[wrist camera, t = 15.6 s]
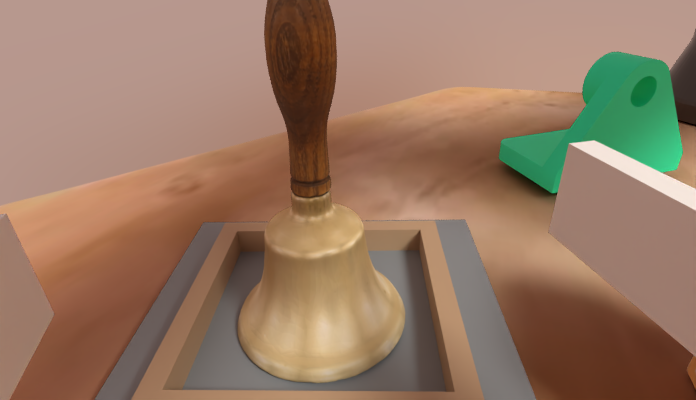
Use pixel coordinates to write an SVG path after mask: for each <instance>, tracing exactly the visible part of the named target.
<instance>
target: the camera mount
mask: <svg viewBox="0 0 696 400" xmlns="http://www.w3.org/2000/svg"><path fill="white" fill-rule="evenodd" d="M582 93H583V99H584V101H585V103H586V107H585V108H584V109H583V111H582V112H581V113H580V115H579V116H578V118H577V119H576V120H575V122H574V123H573V125H572V126H571V127H570V129H565V130H558V131H552V132H545V133H539V134H532V135H525V136H519V137H512V138H506V139H503V140H502V141H501V146H500V153H499V159H500V160H501V161H503V162H504V163H506V164H507V165H509V166H510V167H512V168H513V169H515V170H516V171H518V172H520V173H521V174H523V175H524V176H526V177H527V178H529V179H530V180H532V181H534V182H535V183H537V184H538V185H540V186H541V187H543V188H544V189H546V190H547V191H549V192H551V193H557V192H558V189H559V184H560V180H561V176H562V171H563V167H564V163H565V158H566V154H567V150H568V145H569V143H577V142H585V141H593V140H595V141H597V142H599V143H601V144H603V145H605V146H607V147H609V148H611V149H613V150H616V151H618V152H620V153H622V154H624V155H626V156H628V157H630V158H632V159H634V160H636V161H638V162H640V163H643V164H645V165H647V166H649V167H651V168H653V169H655V170H657V171H659V172H661V173H662V172H667V171H672V170H677V167H678V164H679V162H680V159H681V156H682V154H683V149H682V143H681V137H680V131H679V125H678V119H677V113H676V107H675V101H674V95H673V89H672V83H671V77H670V71H669V68H668V66H667V65H666V64H665V63H664V62H663V61H661V60H657V59H652V58H646V57H642V56H637V55H632V54H627V53H622V52H611V53H608V54H606V55H604V56H603V57H601V58H600V59H599V60H597V61H596V63H595V64H594V65H593V66H592V67H591V69H590V70H589V72H588V74H587V76H586V78H585V80H584V84H583V92H582Z"/></svg>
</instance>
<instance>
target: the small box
mask: <svg viewBox="0 0 696 400" xmlns="http://www.w3.org/2000/svg"><path fill="white" fill-rule="evenodd" d="M687 373H688V375H689V377H690V379H691V381H692V383H693V385H694V387H695V389H696V357H695V356H694V355H693V357H692V359H691V361H690V363H689V365H688V367H687Z"/></svg>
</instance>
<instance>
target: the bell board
mask: <svg viewBox="0 0 696 400" xmlns="http://www.w3.org/2000/svg"><path fill="white" fill-rule="evenodd" d="M268 223H269V222H204V223H203V224H202V226H201V227H200V229H199V231H198V232H197V234H196V236H195V237H194V239H193V240H192V242H191V244H190V245H189V247H188V249H187V250H186V252H185V253H184V255H183V257H182V258H181V260H180V262H179V263H178V265H177V266H176V268H175V270H174V271H173V273H172V275H171V276H170V278H169V279H168V281H167V283H166V284H165V286H164V288H163V289H162V291H161V292H160V294H159V296H158V297H157V299H156V300H155V302H154V304H153V305H152V307H151V309H150V310H149V312H148V313H147V315H146V317H145V318H144V320H143V322H142V323H141V325H140V326H139V328H138V330H137V331H136V333H135V335H134V336H133V338H132V339H131V341H130V343H129V344H128V346H127V348H126V349H125V351H124V352H123V354H122V356H121V357H120V359H119V361H118V362H117V364H116V365H115V367H114V369H113V370H112V372H111V374H110V375H109V377H108V378H107V380H106V382H105V383H104V385H103V386H102V388H101V390H100V391H99V393H98V395H97V396H96V398H95V399H94V400H536V397H535V395H534V392H533V390H532V387H531V385H530V382H529V380H528V377H527V374H526V372H525V369H524V367H523V364H522V362H521V359H520V357H519V354H518V352H517V349H516V347H515V344H514V342H513V339H512V337H511V334H510V332H509V329H508V326H507V324H506V321H505V319H504V316H503V314H502V311H501V309H500V306H499V304H498V301H497V299H496V296H495V294H494V291H493V289H492V286H491V283H490V281H489V278H488V276H487V273H486V271H485V268H484V266H483V263H482V261H481V258H480V256H479V253H478V251H477V248H476V246H475V243H474V240H473V238H472V235H471V233H470V230H469V228H468V225H467V223H466V220H384V221H362V223H363V226H364V232H365V239H366V244H367V249H368V253H369V257H370V259H371V262H372V264H373V267H374V268H375V270H377V271H379V272H380V273H381V274H383V275H384V276H385V277H386V278H387V279H388V280H389V281H390V282H391V283H392V284H393V286H394V287H395V288H396V290H397V291H398V293H399V295H400V297H401V299H402V301H403V304H404V308H405V324H404V329H403V332H402V335H401V337H400V339H399V341H398V343H397V344H396V345H395V347H394V349H393V350H392V351H391V352H390V353H389V354H388V355H387V356H386V357H385V358H384V359H383V360H381V361H380V362H379V363H377V364H376V365H374V366H373V367H371V368H369V369H368V370H366V371H364V372H362V373H360V374H358V375H356V376H353V377H350V378H346V379H341V380H337V381H332V382H325V383H311V382H294V381H290V380H285V379H282V378H278V377H276V376H273V375H271V374H269V373H268V372H266V371H264V370H262V369H261V368H259V367H258V366H257V365H256V364H255V363H253V362H252V360H251V359H250V358H249V357H248V356H247V354H246V353H245V351H244V350H243V348H242V346H241V344H240V341H239V337H238V319H239V315H240V312H241V309H242V306H243V304H244V302H245V300H246V298H247V296H248V295H249V294H250V292H251V291H252V290H253V288H254V287H255V286H256V285H257V284H258V283H259V282H260V281H261V279H262V275H263V270H264V256H265V242H264V234H265V229H266V226H267V225H268Z"/></svg>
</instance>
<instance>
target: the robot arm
mask: <svg viewBox="0 0 696 400" xmlns="http://www.w3.org/2000/svg"><path fill="white" fill-rule="evenodd" d="M670 77H671V83H672V89H673V95H674V101H675V107H676V113H677V119H678V120H681V121H684V122H688V123H691V124H695V125H696V29H695V32H694V36H693V38H692V40H691V41H690V43H689V45H688V46H687V47H686V49H685V50H684V51H683V53H682V54H681V56H680V57H679V58H678V60H677V61H676V63H675V64H674V65H673V67H672V68H671V70H670ZM549 233H550V234H551V235H552V236H553V237H555V238H556V239H557V240H558V241H559V242H561V243H562V244H563V245H564V246H565V247H566V248H568V249H569V250H570V251H571V252H572V253H574V254H575V255H576V256H577V257H578V258H579V259H581V260H582V261H583V262H584V263H585V264H587V265H588V266H589V267H590V268H591V269H592V270H594V271H595V272H596V273H597V274H598V275H600V276H601V277H602V278H603V279H604V280H605V281H607V282H608V283H609V284H610V285H611V286H613V287H614V288H615V289H616V290H617V291H618V292H620V293H621V294H622V295H623V296H624V297H626V298H627V299H628V300H629V301H630V302H631V303H633V304H634V305H635V306H636V307H637V308H639V309H640V310H641V311H642V312H643V313H644V314H646V315H647V316H648V317H649V318H650V319H652V320H653V321H654V322H655V323H656V324H657V325H659V326H660V327H661V328H662V329H663V330H665V331H666V332H667V333H668V334H669V335H670V336H672V337H673V338H674V339H675V340H676V341H678V342H679V343H680V344H681V345H682V346H683V347H685V348H686V349H687V350H688V351H689V352H691V353H692V354H693V355H694V356H695V357H696V189H695V188H692V187H690V186H688V185H686V184H684V183H682V182H680V181H678V180H676V179H674V178H672V177H670V176H667V175H665V174H663V173H661V172H659V171H657V170H655V169H653V168H651V167H649V166H647V165H645V164H643V163H640V162H638V161H636V160H634V159H632V158H630V157H628V156H626V155H624V154H622V153H620V152H618V151H616V150H613V149H611V148H609V147H607V146H605V145H603V144H601V143H599V142H597V141H595V140H593V141H585V142H577V143H569V145H568V150H567V154H566V158H565V163H564V167H563V171H562V176H561V180H560V184H559V189H558V193H557V197H556V202H555V206H554V210H553V215H552V219H551V223H550V228H549ZM53 316H54V312H53V310H52V308H51V305H50V303H49V301H48V299H47V297H46V295H45V293H44V291H43V289H42V287H41V285H40V283H39V280H38V278H37V276H36V274H35V272H34V270H33V268H32V266H31V264H30V262H29V260H28V258H27V255H26V253H25V251H24V249H23V247H22V245H21V243H20V241H19V239H18V237H17V235H16V233H15V230H14V228H13V226H12V224H11V222H10V220H9V218H8V216H7V214H0V400H10V398H11V396H12V394H13V392H14V390H15V389H16V387H17V385H18V383H19V381H20V379H21V377H22V375H23V373H24V371H25V369H26V368H27V366H28V364H29V362H30V360H31V358H32V356H33V354H34V352H35V350H36V349H37V347H38V345H39V343H40V341H41V339H42V337H43V335H44V333H45V331H46V329H47V328H48V326H49V324H50V322H51V320H52V318H53Z"/></svg>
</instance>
